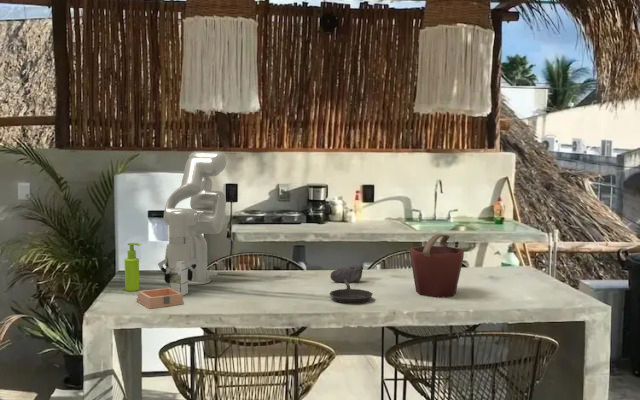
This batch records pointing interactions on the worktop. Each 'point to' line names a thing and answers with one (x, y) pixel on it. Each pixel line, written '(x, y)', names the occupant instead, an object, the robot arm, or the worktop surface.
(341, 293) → the frying pan
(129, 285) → the soap dispenser
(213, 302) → the worktop surface
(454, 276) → the bucket
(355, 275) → the perforated stone tool
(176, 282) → the syrup box
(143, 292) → the pink square tray
